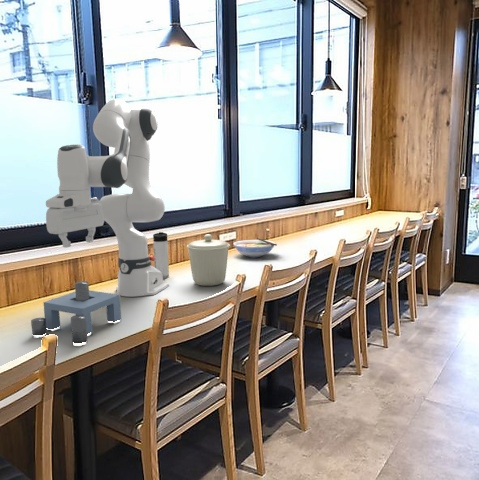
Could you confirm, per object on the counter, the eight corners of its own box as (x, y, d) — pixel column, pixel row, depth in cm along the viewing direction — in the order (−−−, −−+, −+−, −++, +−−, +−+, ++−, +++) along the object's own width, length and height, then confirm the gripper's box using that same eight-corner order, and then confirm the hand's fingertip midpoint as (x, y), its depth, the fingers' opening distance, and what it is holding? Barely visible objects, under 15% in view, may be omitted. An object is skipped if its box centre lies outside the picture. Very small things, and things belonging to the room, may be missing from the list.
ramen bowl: (227, 253, 262) (227, 239, 261) (265, 251, 269) (265, 237, 267) (241, 262, 238) (241, 246, 237) (282, 259, 245) (282, 243, 244)
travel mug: (169, 275, 213) (168, 232, 210) (168, 278, 206) (166, 234, 203) (156, 275, 213) (154, 232, 210) (153, 279, 206) (151, 234, 203)
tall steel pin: (84, 322, 150) (81, 280, 148) (93, 324, 148) (91, 281, 146) (75, 326, 146) (71, 283, 144) (84, 328, 145) (81, 284, 142)
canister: (204, 276, 210) (202, 230, 207) (238, 281, 201) (237, 232, 197) (179, 285, 195) (177, 235, 191) (215, 291, 186) (213, 238, 182)
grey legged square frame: (83, 315, 158) (82, 289, 156) (121, 321, 151) (119, 294, 149) (45, 330, 144) (43, 302, 142) (84, 338, 137) (82, 308, 135)
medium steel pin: (81, 340, 135) (79, 313, 134) (90, 343, 133) (88, 316, 131) (69, 344, 132) (67, 317, 130) (78, 347, 130) (76, 320, 128)
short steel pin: (40, 332, 142) (39, 316, 141) (49, 334, 140) (48, 318, 139) (29, 337, 138) (28, 320, 138) (39, 339, 137) (37, 322, 136)
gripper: (92, 196, 151) (95, 238, 154) (40, 202, 133) (44, 249, 136) (107, 197, 149) (109, 239, 151) (56, 202, 130) (60, 251, 133)
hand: (78, 244), depth 143 cm, fingers open, 8 cm apart
